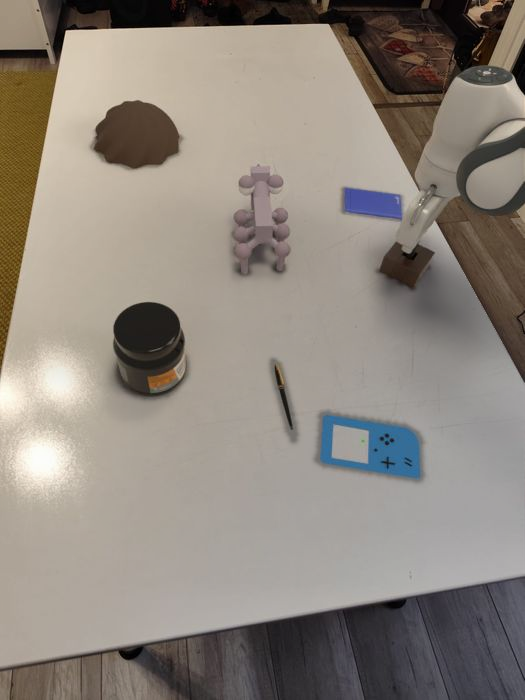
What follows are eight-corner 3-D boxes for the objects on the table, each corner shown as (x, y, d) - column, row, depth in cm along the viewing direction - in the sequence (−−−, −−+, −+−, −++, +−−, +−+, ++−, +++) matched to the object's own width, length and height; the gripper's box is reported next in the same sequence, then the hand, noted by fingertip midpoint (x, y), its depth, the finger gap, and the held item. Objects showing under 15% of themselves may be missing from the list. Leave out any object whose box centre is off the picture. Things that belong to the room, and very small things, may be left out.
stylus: (406, 272, 103) (429, 220, 92) (404, 276, 102) (426, 224, 92) (400, 268, 103) (422, 217, 93) (397, 273, 102) (418, 221, 92)
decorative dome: (156, 115, 128) (153, 74, 120) (195, 158, 119) (194, 116, 111) (81, 134, 121) (71, 92, 113) (116, 181, 112) (109, 139, 104)
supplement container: (197, 384, 84) (196, 339, 74) (135, 410, 80) (125, 366, 70) (170, 337, 89) (166, 289, 79) (111, 359, 85) (98, 312, 75)
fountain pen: (297, 441, 79) (298, 437, 78) (289, 442, 79) (291, 438, 78) (277, 364, 87) (278, 359, 86) (270, 365, 87) (271, 360, 86)
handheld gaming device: (421, 478, 76) (319, 461, 76) (418, 481, 77) (318, 465, 77) (419, 428, 81) (323, 413, 81) (416, 431, 82) (322, 416, 82)
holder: (426, 270, 104) (435, 252, 99) (411, 292, 100) (419, 273, 96) (393, 254, 106) (400, 235, 102) (377, 274, 102) (384, 256, 98)
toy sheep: (230, 209, 110) (232, 152, 99) (280, 210, 111) (288, 154, 100) (233, 278, 98) (236, 222, 87) (289, 279, 99) (299, 223, 88)
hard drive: (400, 193, 115) (345, 186, 115) (402, 217, 110) (344, 210, 110) (398, 199, 116) (343, 192, 116) (400, 223, 111) (343, 215, 111)
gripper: (438, 212, 78) (409, 277, 89) (483, 152, 88) (453, 216, 99) (400, 195, 79) (376, 260, 90) (449, 138, 90) (423, 202, 101)
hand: (417, 237), depth 95 cm, fingers open, 7 cm apart
